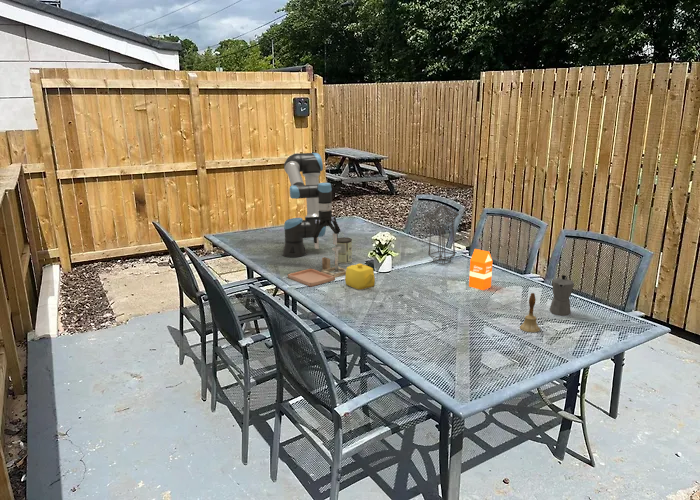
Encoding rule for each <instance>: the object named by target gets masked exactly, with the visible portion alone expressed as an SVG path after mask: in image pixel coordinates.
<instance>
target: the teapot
mask: <svg viewBox="0 0 700 500" xmlns="http://www.w3.org/2000/svg"><path fill="white" fill-rule="evenodd" d="M345 269H346V275H344V277H345V278H344V280H345V285H347V286H348V287H350V288H352V289H355V290H359V291H361V290H365V289H369V288H372V287H374V286H375V284H376V278H375V272H374V268H373V267H371V266H370V265H369V266H368V265H366V264H363V263H357V264H353V265H352V264H351V265H348V266H347V267H346V268H345Z"/></svg>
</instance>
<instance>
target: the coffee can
mask: <svg viewBox="0 0 700 500" xmlns="http://www.w3.org/2000/svg"><path fill="white" fill-rule="evenodd" d="M352 242H353V239H352V238H350V237H338V239H337V245H335V247H339V246H340V247H341V249H340V250H338V264H350V263H352V262H353V252H352V249H353V246H352V245H353V243H352ZM335 247H334V248H335Z"/></svg>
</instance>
